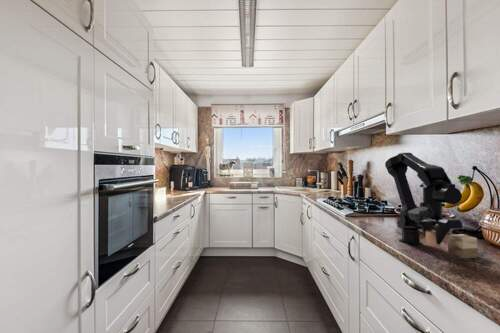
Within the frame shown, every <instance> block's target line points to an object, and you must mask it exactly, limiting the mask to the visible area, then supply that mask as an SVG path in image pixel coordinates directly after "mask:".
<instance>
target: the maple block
mask: <svg viewBox="0 0 500 333" xmlns="http://www.w3.org/2000/svg"><path fill="white" fill-rule="evenodd" d="M449 244H451V245H454V246H457V247H459V248H462V249H469V248H478V238H477V237H474V236H471V235H467V234H462V233H461V234H459V233H458V234H449Z"/></svg>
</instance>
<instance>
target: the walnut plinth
mask: <svg viewBox="0 0 500 333" xmlns="http://www.w3.org/2000/svg"><path fill="white" fill-rule="evenodd" d="M447 253H448V254H451V255H454V256H456V257H459V258H461V259H473V258H474V259H475V258H479V249H478V247H477V248H469V249H462V248H459V247H457V246H454V245H451V244H450V243H447Z"/></svg>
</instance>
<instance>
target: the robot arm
mask: <svg viewBox="0 0 500 333" xmlns="http://www.w3.org/2000/svg"><path fill="white" fill-rule="evenodd" d="M384 166H385V168H386V170H387V173H388V174H389V175H390V176H391V177H392V178H393V179H394V182H395V187H396V190H397V193H398V197H399V200H400V204H401V206H402V207H401V210H400V212H399V216H400V217H399V218H398V219H397V221H396V226H397V228H399V229H401V238H399V239H398V241H399V242H401V243H404V244H406V245H409V246H411V245H412V246H413V245H423V242H422V241H421V238H420V237H421V235H420V230H421V231H422V234H423V235H424V238H425V239H426V234H425V231H426V230H435V231H436V241H437V244H441V245H442V243H443V241H444V239H445V237H446V236H447V234H448V232H450V230H451V229H452V230H455V229H456V230H457V229H463V221H462V220H461V219H458V218H454V217H446V214H443V207H446V204H449V205H458V204H459V203H460V202H461V200H462V198H463V195H462V193H461V191H460V189H458V188H457V187H456V184H455V183H452V180H451V179H450V178H449V175H448V174H447V172H446V170H445V169H444V168H443V167H442V166H440V165H435V164H429V163H427V162H425V161H423V160H422V159H420V158H419V157H417V156H415V155H414V154H413V153H411V152H400V153H398V154H396V155H394V156H392V157H390V158H388V159H387V160H386V161H385V163H384ZM408 167H409V168H410V169H411V170H413V171H414V172H416V173H417V174H416V176H417V178H418V179H419V180H420V181H421V182H422V183H421V184H420V185H419V187H420V188H422V201H421V202H420V203H419V206H418V205H417V204H416V202H415V200H414V196H413V193H412V190H411V188H410V184H409V182H408V178H407V175H406V174H407V171H408V169H409V168H408ZM434 223H437V224H436V225H434Z"/></svg>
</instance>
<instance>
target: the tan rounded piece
mask: <svg viewBox="0 0 500 333" xmlns="http://www.w3.org/2000/svg"><path fill="white" fill-rule="evenodd" d="M425 234H426V238H425V245H426V246H429V247H433V248H440V247H441V246H442V243H441V244H437V241H436V230H435V229H432V230H426V231H425Z"/></svg>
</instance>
